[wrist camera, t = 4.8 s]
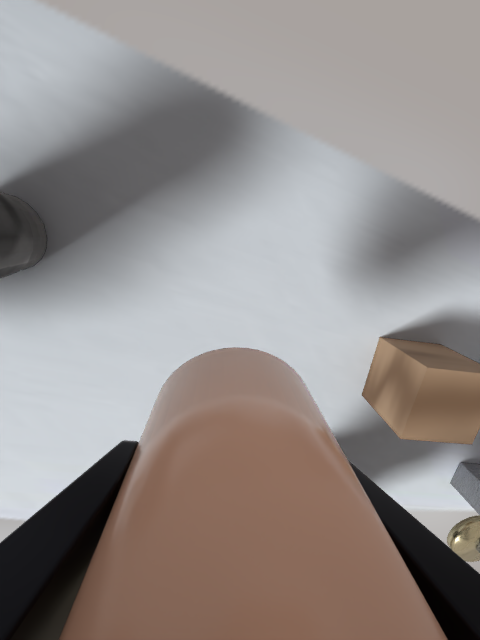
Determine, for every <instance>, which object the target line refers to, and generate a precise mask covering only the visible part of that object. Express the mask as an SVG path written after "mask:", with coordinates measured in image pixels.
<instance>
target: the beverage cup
mask: <svg viewBox="0 0 480 640" xmlns="http://www.w3.org/2000/svg"><path fill="white" fill-rule="evenodd" d="M46 244H47V236H46V232H45V228H44V225H43V223H42V221H41V219H40V218H39V216H38V214H37V213H36V212H35V211H34V210H33V209H32V208H31V207H30V206H29V205H28V204H27V203H25V202H24V201H22V200H20V199H19V198H17V197H15V196H11V195H8V194H5V193H2V192H0V278H2V277H5V276H8V275H11V274H13V273H16V272H18V271H20V270H24V269H27V268H29V267H32V266H34V265H35V264H36V263H37V262H38V261H39V260H40V259H42V257H43V255H44V252H45V250H46Z"/></svg>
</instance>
